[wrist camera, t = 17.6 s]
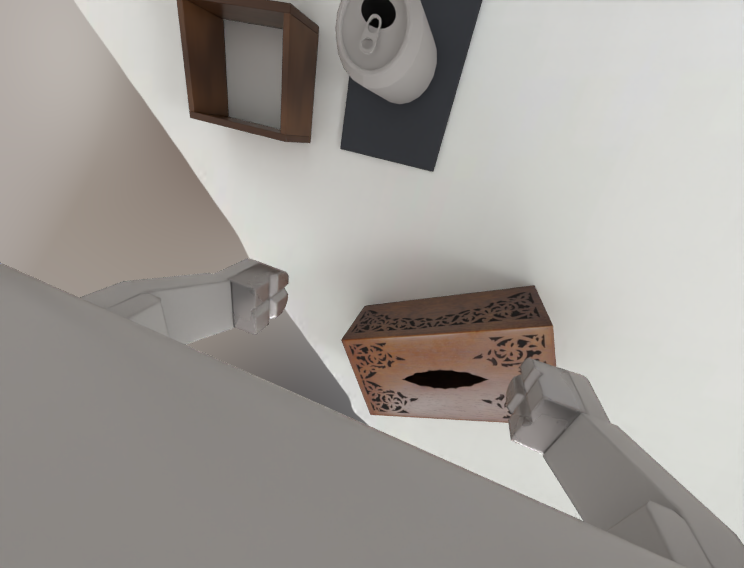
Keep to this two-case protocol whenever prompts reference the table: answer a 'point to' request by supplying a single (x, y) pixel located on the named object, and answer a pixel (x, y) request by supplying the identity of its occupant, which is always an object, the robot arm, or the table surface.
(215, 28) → the crate
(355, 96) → the mat
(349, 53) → the can
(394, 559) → the robot arm
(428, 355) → the tissue box cover
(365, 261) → the table surface
